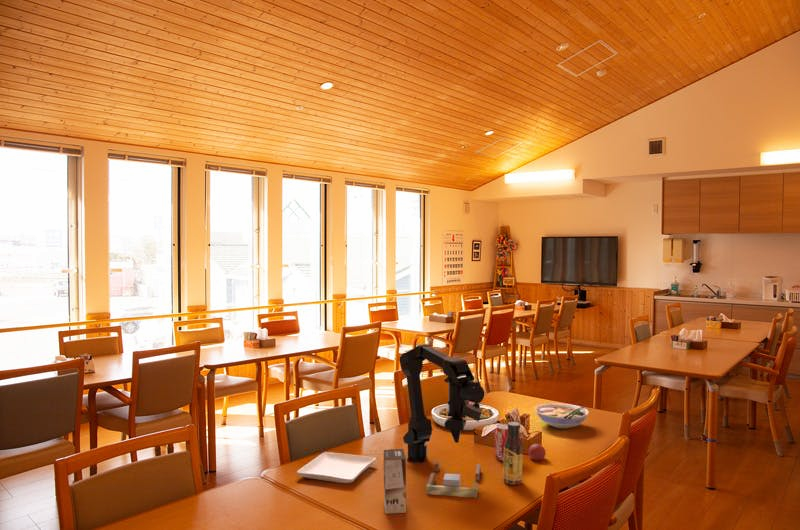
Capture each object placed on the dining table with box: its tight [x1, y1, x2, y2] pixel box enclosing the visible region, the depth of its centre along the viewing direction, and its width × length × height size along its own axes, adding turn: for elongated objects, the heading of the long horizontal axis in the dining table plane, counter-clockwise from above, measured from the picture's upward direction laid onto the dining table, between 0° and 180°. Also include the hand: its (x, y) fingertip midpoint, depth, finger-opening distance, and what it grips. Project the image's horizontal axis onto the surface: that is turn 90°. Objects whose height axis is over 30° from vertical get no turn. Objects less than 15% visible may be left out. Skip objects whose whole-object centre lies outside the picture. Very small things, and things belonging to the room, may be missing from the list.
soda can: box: [494, 423, 508, 462], centre depth 213 cm, size 7×7×12 cm
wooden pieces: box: [426, 460, 481, 499], centre depth 191 cm, size 16×22×2 cm
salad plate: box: [296, 451, 377, 484], centre depth 200 cm, size 21×21×3 cm
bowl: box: [431, 401, 500, 431], centre depth 260 cm, size 30×30×8 cm
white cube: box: [442, 473, 462, 487], centre depth 184 cm, size 5×5×4 cm
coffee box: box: [383, 448, 407, 515], centre depth 173 cm, size 9×6×16 cm
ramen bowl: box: [534, 402, 590, 430], centre depth 251 cm, size 25×23×8 cm
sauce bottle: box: [502, 421, 524, 486], centre depth 190 cm, size 6×6×20 cm
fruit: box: [527, 443, 547, 462], centre depth 212 cm, size 6×6×8 cm
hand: (456, 442), depth 195 cm, fingers closed
